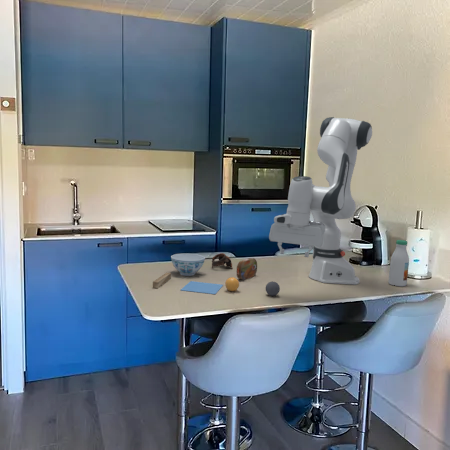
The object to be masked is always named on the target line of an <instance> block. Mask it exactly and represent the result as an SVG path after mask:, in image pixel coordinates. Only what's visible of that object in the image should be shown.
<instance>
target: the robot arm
mask: <svg viewBox="0 0 450 450" xmlns="http://www.w3.org/2000/svg"><path fill="white" fill-rule="evenodd" d="M319 136H320V139H319V142H318V145H317V149H316V150H317V155H318V158H319V159H320V160H321V161H322V162H323V163H324V164H326V165H327V166H328V167H327V170H326V175H325V179H326V181H327V182H328V185H329V186H328V187H327V186H320V185H315V184H314V183H313V179H312V178H311V177H310V176H305V175H304V176H302V175H301V176H294V177H292V179H291V181H290V185H289V189H288V196H287V201H288V205H287V208H286V213H283V214H279V215H276V216H274V218H273V222H274V223H272V224H271V225H270V226H271V227H270V229H269V230H270V231H269V235H268V239H269V241H270V242H276V243H277V247H278V249H279V255H284V254H285V248H283V247H282V245H283V243H285V244H293V245H300V246H308V249H309V250H307V251H304V257H305V258H309V257H310V253H311V251H312V259H313V260H312V264H311V268H310V271H309V274H308V278H310V279H312V280H313V281H314V280H315V281H318V282H320V283H323V284H340V285H355V286H356V285H359V284H360V278H359V277H358V276H356V271H355V268H354V266H353V265H352V264H351V263H350V262H349V261H348V260H347V259H346V258H345V256H346V252H345V251H344V250H343V249H341V248H340V247H341V236H342V233H341V229H340V228H339V227H338V225H337V223H336V220H347V219H350V218H352V216H354V214H355V212H356V209H357V208H356V207H357V206H356V201H355V199H354V198H353V196H352V193H351V192H352V190H351V182H352V177H353V174H354V170H355V166H356V162H357V155H358V151H359V150H361V148H364V147H366V146H367V145H368V144H369V143H370V141H371V138H372V136H373V128H372V124H371V123H369V122H368V121H365V120H358V119H354V118H349V117H348V118H346V117H345V118H344V117H334V116H333V117H326V118H324V119H323V121H322V122H321V124H320V127H319ZM311 215H312V217H313V220H311Z"/></svg>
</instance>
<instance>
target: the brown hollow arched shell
mask: <svg viewBox="0 0 450 450" xmlns="http://www.w3.org/2000/svg"><path fill="white" fill-rule="evenodd" d="M216 259H218V260H216ZM220 266H226V268H228V267H229V268H231V270H233V263H232V260H231V258H230V257H229V256H228V255H226V253H222V252H220V253H218V254H217V253H216V254H215V255H214V256H213V257H212V258H211V267H212V269H214V268H217V267H220Z"/></svg>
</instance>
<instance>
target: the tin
mask: <svg viewBox="0 0 450 450" xmlns="http://www.w3.org/2000/svg"><path fill="white" fill-rule="evenodd" d="M257 271H258V262H257V258H251V257H250V258H245V259H243V260H240V261H239V262H238V264H237V265H236V277H237V278H238V279H239V280H241V281H247V280H249V279H251V278H253V277H255V276H256V274H257ZM238 279H237V280H238Z"/></svg>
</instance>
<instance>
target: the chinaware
mask: <svg viewBox="0 0 450 450" xmlns="http://www.w3.org/2000/svg"><path fill="white" fill-rule="evenodd" d="M170 258H171V263H172V265H173V268H175V270H176V271H178V272H179V274H180V276H186V277H189V276H190V277H191V276H195V274H196V272H198V271H199V270H200V269H202V267H203V265H204V263H205V259H206V257H205V256H203V255H202V254H197V253H175V254H173V255H171V256H170Z"/></svg>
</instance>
